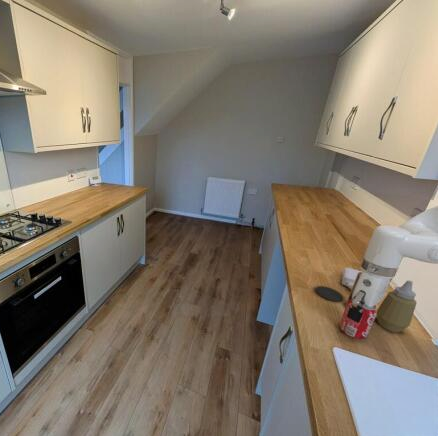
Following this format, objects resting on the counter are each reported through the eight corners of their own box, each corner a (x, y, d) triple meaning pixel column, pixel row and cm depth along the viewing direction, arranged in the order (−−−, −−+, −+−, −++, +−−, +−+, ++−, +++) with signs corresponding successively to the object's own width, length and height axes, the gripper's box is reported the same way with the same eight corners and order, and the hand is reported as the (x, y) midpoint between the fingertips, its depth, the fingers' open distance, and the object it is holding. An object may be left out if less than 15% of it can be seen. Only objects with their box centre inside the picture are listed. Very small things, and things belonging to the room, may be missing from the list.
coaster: (346, 297, 95) (347, 296, 94) (335, 304, 90) (335, 303, 90) (322, 285, 102) (322, 284, 102) (310, 291, 98) (311, 290, 98)
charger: (340, 291, 98) (342, 275, 109) (369, 301, 92) (368, 283, 103) (343, 281, 96) (345, 266, 107) (373, 291, 91) (372, 274, 101)
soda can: (363, 329, 79) (375, 300, 75) (368, 344, 73) (382, 314, 69) (337, 321, 82) (347, 292, 78) (340, 335, 77) (351, 305, 72)
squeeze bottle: (395, 319, 83) (416, 276, 77) (412, 337, 76) (436, 291, 70) (367, 315, 85) (386, 272, 79) (381, 332, 78) (403, 286, 72)
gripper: (382, 282, 62) (360, 334, 68) (407, 265, 70) (385, 313, 76) (348, 268, 68) (331, 317, 75) (375, 254, 76) (357, 299, 82)
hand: (358, 314), depth 75 cm, fingers closed on soda can, 7 cm apart
